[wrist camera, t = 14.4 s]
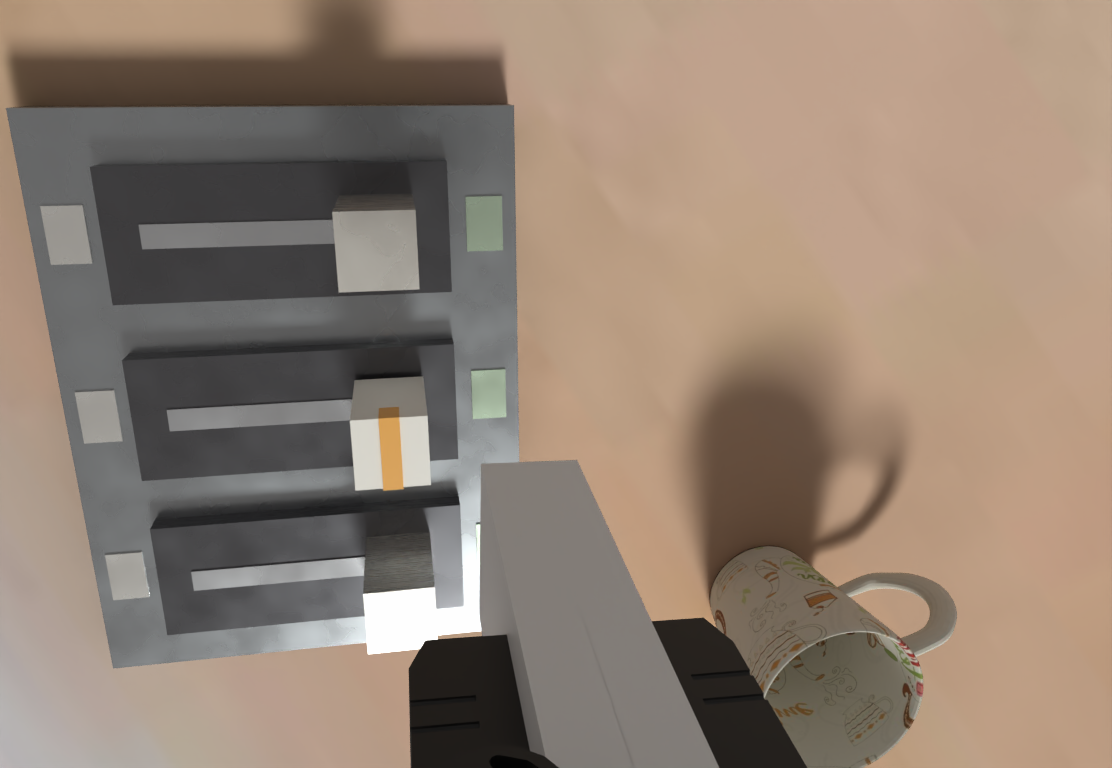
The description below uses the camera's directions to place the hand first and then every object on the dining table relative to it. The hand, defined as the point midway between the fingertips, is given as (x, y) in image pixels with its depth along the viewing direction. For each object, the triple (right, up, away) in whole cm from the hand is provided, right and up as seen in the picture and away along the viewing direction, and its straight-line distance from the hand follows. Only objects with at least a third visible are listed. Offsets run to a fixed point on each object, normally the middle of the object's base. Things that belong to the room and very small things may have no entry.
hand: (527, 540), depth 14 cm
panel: (-12, +2, +29) cm, 31 cm away
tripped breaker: (-7, +1, +26) cm, 27 cm away
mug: (+14, -9, +37) cm, 41 cm away
